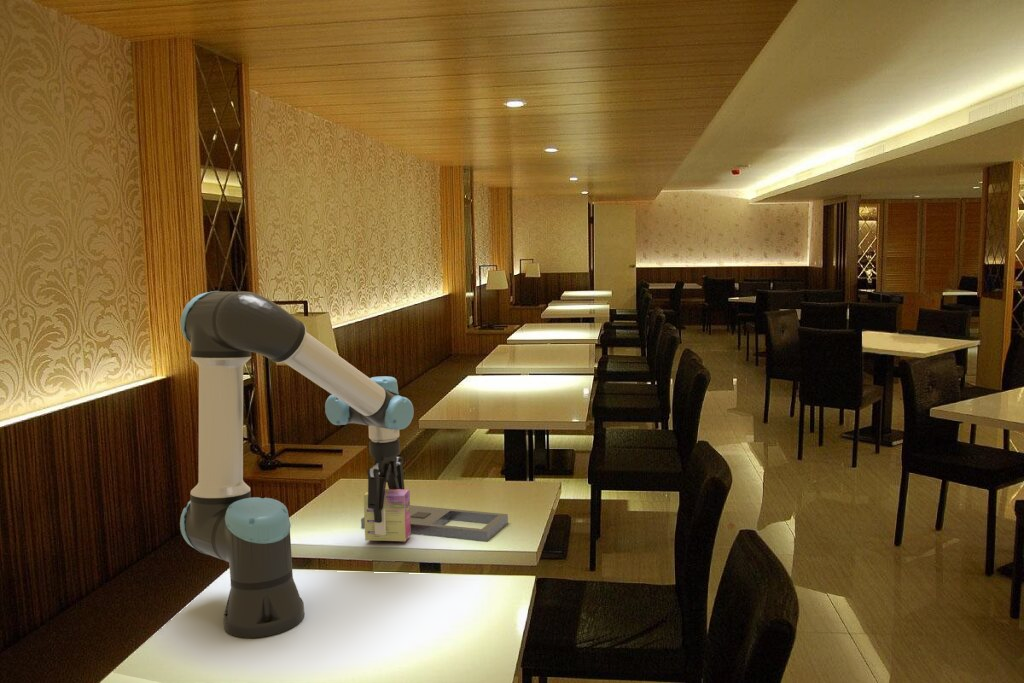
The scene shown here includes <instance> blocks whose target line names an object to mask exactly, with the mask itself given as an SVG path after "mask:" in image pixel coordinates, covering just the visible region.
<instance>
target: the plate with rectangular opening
mask: <svg viewBox="0 0 1024 683" xmlns="http://www.w3.org/2000/svg"><path fill="white" fill-rule="evenodd" d="M450 521H459V522H469V523H479V524H480V523H481V524H486V525H485V526H484V527H482V528H475V527H468V526H467V527H466V526H465V527H464V526H455V525H446V524H447V523H448V522H450ZM360 524H361V526H360V527H361V529H365V520H364V517H362V518H361V519H360ZM508 524H509V515H508V513H500V512H499V513H498V512H487V511H478V510H467V509H466V510H465V509H453V508H444V507H433V506H422V505H413V504H412V505H411V504H410V525H411V534H412V533H414V535H421V534H423V535H422V536H432V537H440V538H441V537H443V538H450V539H451V538H452V539H460V540H461V539H462V540H468V541H469V540H470V541H479V542H488V541H490V539H492V538H493V537H494V536H495V535H497V533H499V532H500V531H501V530H503V529H504V527H506V526H507V525H508Z"/></svg>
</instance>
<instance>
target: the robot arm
mask: <svg viewBox="0 0 1024 683" xmlns="http://www.w3.org/2000/svg"><path fill="white" fill-rule="evenodd" d="M180 331H181V333H182V335H183V337H184V338H185V339H186V340H187V342H188V343H189V344H190V359H191V360H192V361H193V362H194V363H195V364H197V366H198V482H197V484H196V485H195V486H194V487H193V488H192V489H191V490H190V492H189V493H190V495H189V496H190V499H189V501H188V502H186V503H187V505H186V507H183V510H182V512H181V515H180V519H179V521H180V522H179V527H180V528H179V529H180V534H181V535H182V537H183V539H184V541H185V542H186V543H187V545H189V546H190V547H192V548H193V549H194V550H196V551H198V552H199V553H200V554H204V555H206V556H210V557H214V558H216V559H219V560H222V561H224V562H227V563H229V564H228V566H229V577H230V589H229V590H230V591H229V595H228V598H227V602H226V606H225V610H224V613H223V627H224V631H225V632H226V633H227V634H229V635H231V636H233V637H237V638H238V637H239V638H244V639H252V638H256V639H257V638H263V637H270V636H274V635H277V634H280V633H284V632H286V631H288V630H290V629H292V628H295V627H296V626H297V625H299V624H300V623H301V622H302V621H303V620H304V617H305V607H304V606H305V605H304V601H303V599H302V597H301V596H300V593H299V590H298V587H297V585H296V582H295V580H294V575H293V561H292V560H293V557H292V556H293V555H292V546H291V545H292V544H291V543H292V542H291V527H292V526H291V521H290V516H289V515H290V514H289V510H288V508H287V506H286V505H285V504H284V503H283V502H281V501H279V500H278V499H275V498H270V497H264V498H261V497H258V496H256V497H251V486H249V485H248V484H247V483H246V482H245V481H244V479H243V478H244V366H245V364H247V362H249V360H250V359H252V353H256V354H258V355H261V356H264V357H266V358H267V359H268V360H271V361H272V362H274V363H276V364H280V363H281V364H282V363H284V364H286V365H287V366H288V367H290V368H291V369H293V370H295V371H296V372H298V373H299V374H301V375H302V376H304V377H305V378H307V379H308V380H310V381H311V382H312V383H314V384H315V385H317V386H318V387H320V388H322V389H323V390H325V391H326V392H327V393H329V394H330V395H329V396H328V397H327V399H326V400H325V402H324V403H325V404H324V408H325V412H324V413H325V415H326V418H327V420H328V421H329V422H330V423H331V424H332V425H335V426H342V425H345V426H346V425H348V424H356V425H363V426H368V438H369V439H370V441H369V442H368V444H369V445H368V447H369V455H370V456H371V457H373V458H374V459H373V460H374V462H373V466H372V467H370V468H367V469H366V474H367V480H368V481H367V491H368V508H369V509H373V510H374V522H375V534H377V535H386V519H385V509H384V508H383V503H384V496H385V489H405V481H404V480H405V479H404V469H403V464H404V458H403V457H401V456H398V455H400V453H401V440H400V439H399V438H400V430H404V429H406V428H407V427H408V426H410V424H411V422H412V420H413V418H414V414H415V413H414V406H413V403H412V401H411V400H410V399H409V398H407V397H405V396H401V395H399V394H400V393H399V387H398V380H397V378H395V377H393V376H389V375H388V376H386V375H385V376H383V375H382V376H373V377H369V376H367V375H366V374H365V373H363V372H362V371H361V370H358V368H357V367H355V366H354V365H352V364H351V363H349V362H348V361H347V360H345V359H344V358H342V357H341V356H340V355H339V354H337V353H336V352H335V351H334V350H331V349H330V348H329V347H328V346H326V345H325V344H324V343H322V342H321V341H319V340H318V339H317V338H316V337H314V336H312V335H311V334H310V333H308V332H307V327H306V325H305V324H304V322H302V321H301V320H299V319H298V318H296V317H295V316H294V315H292V314H291V313H290V312H289V311H287V310H286V309H284V308H283V307H282V306H280V305H278V303H275V302H273V301H272V300H271V299H269V298H267V297H265V296H263V295H261V294H258V293H256V292H252V291H243V290H242V291H222V290H221V291H220V290H214V291H212V290H211V291H209V292H208V291H207V292H204V293H203V292H202V293H199V294H198V295H196V296H194V297H193V298H192V299H190V301H188V302H187V303H186V305H185V306H184V308H183V311H182V313H181V315H180ZM386 487H388V488H386Z"/></svg>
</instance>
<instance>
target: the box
mask: <svg viewBox="0 0 1024 683" xmlns="http://www.w3.org/2000/svg"><path fill="white" fill-rule="evenodd" d="M410 493H411V492H410V489H405V488H404V489H389V488H385V496H384V503H383V508H384V509H385V519H386V535H377V534H375V522H374V510H373V509H369V508H368V490H367V491H366V492H365V493H364V494H363V514H364V520H365V528H364V538H365V539H364V540H365V541H383V542H385V541H386V542H406V541H407V540H408V539H409V537H410V536H411V534H412V533H411V525H410V505H411V498H410V496H411V494H410Z"/></svg>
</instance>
